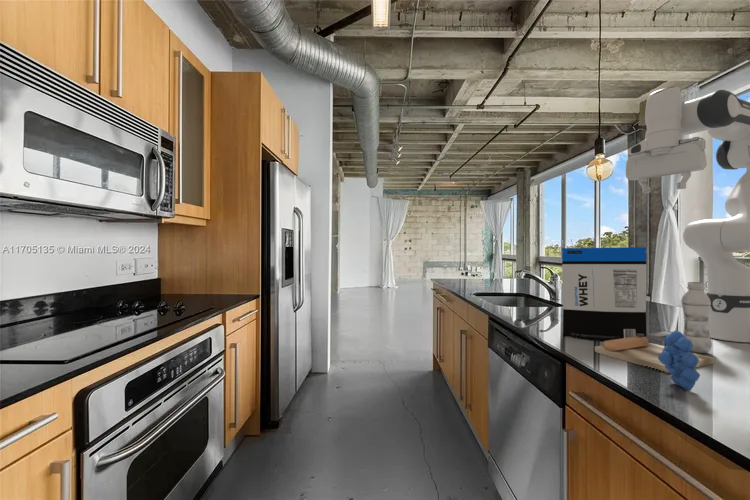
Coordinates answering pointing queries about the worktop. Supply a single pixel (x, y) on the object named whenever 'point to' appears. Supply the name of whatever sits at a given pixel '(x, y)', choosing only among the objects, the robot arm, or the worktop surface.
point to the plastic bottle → (696, 317)
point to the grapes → (680, 360)
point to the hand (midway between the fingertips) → (663, 191)
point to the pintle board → (648, 353)
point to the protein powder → (604, 293)
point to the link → (625, 343)
